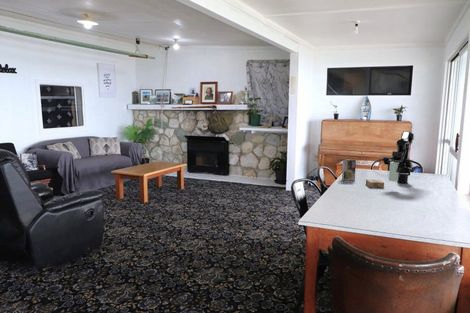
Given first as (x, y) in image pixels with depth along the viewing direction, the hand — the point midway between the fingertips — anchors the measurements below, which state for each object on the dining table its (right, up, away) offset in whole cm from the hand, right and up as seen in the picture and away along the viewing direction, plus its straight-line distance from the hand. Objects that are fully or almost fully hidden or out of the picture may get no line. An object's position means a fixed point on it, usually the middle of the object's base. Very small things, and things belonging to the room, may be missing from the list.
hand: (393, 171), depth 256 cm
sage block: (+1, -6, +2) cm, 7 cm away
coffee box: (-20, -8, +36) cm, 42 cm away
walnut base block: (-8, -11, +13) cm, 19 cm away
